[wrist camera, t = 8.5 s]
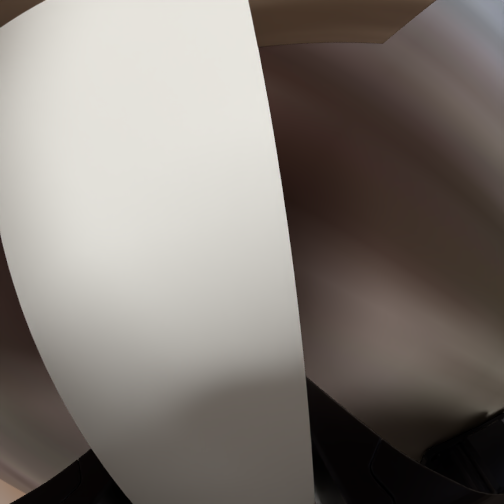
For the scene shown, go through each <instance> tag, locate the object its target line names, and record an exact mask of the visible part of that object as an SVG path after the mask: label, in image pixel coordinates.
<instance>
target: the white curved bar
mask: <svg viewBox="0 0 504 504" xmlns="http://www.w3.org/2000/svg"><path fill="white" fill-rule="evenodd" d="M0 235H1V239H2V243H3V248H4V252H5V256H6V259H7V263H8V267H9V270H10V274H11V277H12V281H13V284H14V287H15V290H16V293H17V296H18V299H19V302H20V305H21V308H22V311H23V314H24V316H25V319H26V322H27V324H28V327H29V329H30V332H31V334H32V337H33V339H34V342H35V344H36V346H37V349H38V351H39V353H40V356H41V358H42V360H43V362H44V364H45V367H46V369H47V371H48V373H49V375H50V377H51V379H52V381H53V383H54V385H55V387H56V389H57V391H58V393H59V395H60V397H61V398H62V400H63V402H64V404H65V406H66V408H67V409H68V411H69V413H70V415H71V416H72V418H73V420H74V421H75V423H76V425H77V426H78V428H79V430H80V431H81V433H82V435H83V436H84V438H85V439H86V441H87V442H88V444H89V446H90V447H91V449H92V450H93V452H94V453H95V454H96V456H97V457H98V459H99V460H100V462H101V463H102V465H103V466H104V467H105V469H106V470H107V471H108V473H109V474H110V476H111V477H112V478H113V480H114V481H115V482H116V483H117V485H118V486H119V487H120V489H121V490H122V491H123V492H124V494H125V495H126V496H127V497H128V498H129V500H130V501H131V502H132V503H133V504H315V497H314V479H313V463H312V449H311V435H310V422H309V410H308V398H307V387H306V377H305V366H304V356H303V347H302V337H301V328H300V319H299V310H298V302H297V293H296V285H295V277H294V269H293V261H292V254H291V246H290V239H289V232H288V224H287V217H286V210H285V204H284V197H283V190H282V183H281V177H280V171H279V164H278V158H277V152H276V146H275V139H274V133H273V128H272V122H271V116H270V110H269V104H268V99H267V93H266V88H265V82H264V77H263V72H262V66H261V61H260V56H259V51H258V46H257V41H256V36H255V31H254V26H253V21H252V16H251V12H250V7H249V2H248V0H45V1H43V2H42V3H40V4H38V5H36V6H34V7H33V8H31V9H29V10H27V11H26V12H24V13H22V14H21V15H19V16H18V17H16V18H14V19H13V20H11V21H10V22H8V23H7V24H5V25H4V26H2V27H1V28H0Z"/></svg>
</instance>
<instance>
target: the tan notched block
mask: <svg viewBox="0 0 504 504" xmlns="http://www.w3.org/2000/svg"><path fill="white" fill-rule="evenodd" d="M43 1H45V0H0V28H1V27H2V26H4V25H5V24H7V23H8V22H10V21H11V20H13V19H14V18H16V17H18V16H19V15H21V14H22V13H24V12H26V11H27V10H29V9H31V8H33V7H34V6H36V5H38V4H40V3H42V2H43ZM435 1H436V0H248V2H249V7H250V12H251V16H252V21H253V26H254V31H255V36H256V41H257V46H258V47H264V46H273V45H285V44H299V43H323V42H358V43H381V44H383V43H384V42H385V41H387V40H388V39H389V38H390V37H391V36H392V35H394V34H395V33H396V32H397V31H398V30H400V29H401V28H402V27H403V26H405V25H406V24H407V23H408V22H409V21H411V20H412V19H413V18H414V17H416V16H417V15H418V14H419V13H421V12H422V11H423V10H424V9H426V8H427V7H428V6H429V5H431V4H432V3H433V2H435Z"/></svg>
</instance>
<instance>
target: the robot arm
mask: <svg viewBox="0 0 504 504" xmlns="http://www.w3.org/2000/svg"><path fill="white" fill-rule="evenodd" d="M305 377H306V376H305ZM306 387H307V398H308V410H309V422H310V435H311V449H312V463H313V479H314V497H315V502H316V504H504V413H502V414H501V415H499V416H497V417H495V418H493V419H492V420H490V421H488V422H486V423H484V424H482V425H480V426H478V427H476V428H474V429H472V430H470V431H468V432H466V433H464V434H462V435H460V436H458V437H456V438H453V439H451V440H449V441H447V442H444V443H442V444H440V445H437V446H435V447H433V448H431V449H430V450H428V451H427V452H426V453H425V454H424V456H423V459H422V462H421V464H420V463H418V462H416V461H415V460H413V459H411V458H409V457H408V456H406V455H405V454H404V453H402V452H401V451H399V450H398V449H396V448H395V447H393V446H392V445H391V444H389V443H388V442H387V441H386V440H384V439H382V438H381V437H380V436H379V435H378V434H376V433H375V432H374V431H372V430H371V429H370V428H369V427H367V426H366V425H365V424H364V423H362V422H361V421H360V420H358V419H357V418H356V417H355V416H353V415H352V414H351V413H350V412H348V411H347V410H346V409H345V408H343V407H342V406H341V405H340V404H339V403H337V402H336V401H335V400H334V399H332V398H331V397H330V396H329V395H328V394H326V393H325V392H324V391H323V390H322V389H320V388H319V387H318V386H317V385H316V384H314V383H313V382H312V381H311V380H310V379H308V378H307V377H306ZM78 460H79V461H78ZM78 460H76V461H75V462H73V463H72V464H71V465H70V466H68V467H67V468H66V469H64V470H63V471H62V472H60V473H59V474H57V475H56V476H55V477H53V478H52V479H50V480H49V481H47V482H46V483H44V484H42V485H41V486H39V487H38V488H36V489H34V490H33V491H31V492H29V493H28V494H26V495H24V496H23V497H21V498H19V499H17V500H16V501H14V502H12V503H10V504H133V503H132V502H131V501H130V500H129V498H128V497H127V496H126V495H125V494H124V492H123V491H122V490H121V489H120V487H119V486H118V485H117V483H116V482H115V481H114V480H113V478H112V477H111V476H110V474H109V473H108V471H107V470H106V469H105V467H104V466H103V465H102V463H101V462H100V460H99V459H98V457H97V456H96V454H95V453H94V452H93V450H92V449H90V450H89V451H87V452H86V453H85V454H84V455H82V456H81V457H80V458H79V459H78Z"/></svg>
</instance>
